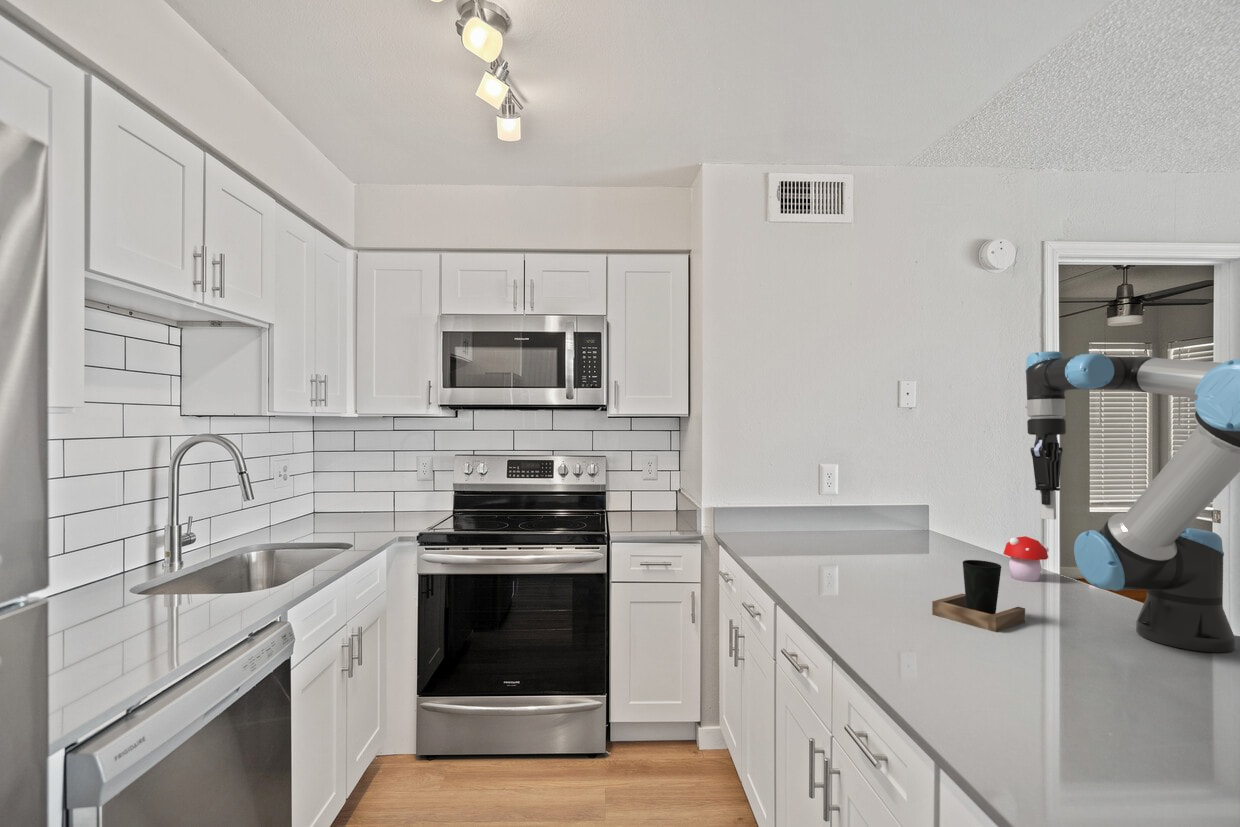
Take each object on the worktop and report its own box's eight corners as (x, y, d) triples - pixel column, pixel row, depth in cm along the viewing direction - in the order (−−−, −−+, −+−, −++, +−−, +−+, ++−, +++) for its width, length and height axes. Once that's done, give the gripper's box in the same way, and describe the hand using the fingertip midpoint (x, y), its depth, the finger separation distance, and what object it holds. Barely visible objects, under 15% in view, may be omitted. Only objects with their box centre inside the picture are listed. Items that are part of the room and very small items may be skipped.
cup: (1005, 623, 141) (1006, 568, 141) (967, 620, 143) (968, 566, 143) (993, 613, 149) (994, 561, 149) (957, 610, 150) (958, 558, 150)
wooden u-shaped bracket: (1025, 621, 142) (1025, 608, 142) (995, 631, 135) (995, 617, 135) (962, 606, 154) (962, 593, 154) (932, 614, 147) (932, 601, 147)
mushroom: (1035, 574, 186) (1035, 533, 186) (1057, 584, 175) (1057, 540, 175) (996, 573, 187) (996, 532, 187) (1016, 583, 176) (1016, 539, 176)
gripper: (1039, 419, 158) (1041, 515, 157) (1017, 417, 150) (1019, 519, 150) (1074, 418, 152) (1077, 518, 151) (1053, 416, 145) (1056, 522, 144)
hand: (1048, 518), depth 150 cm, fingers closed
